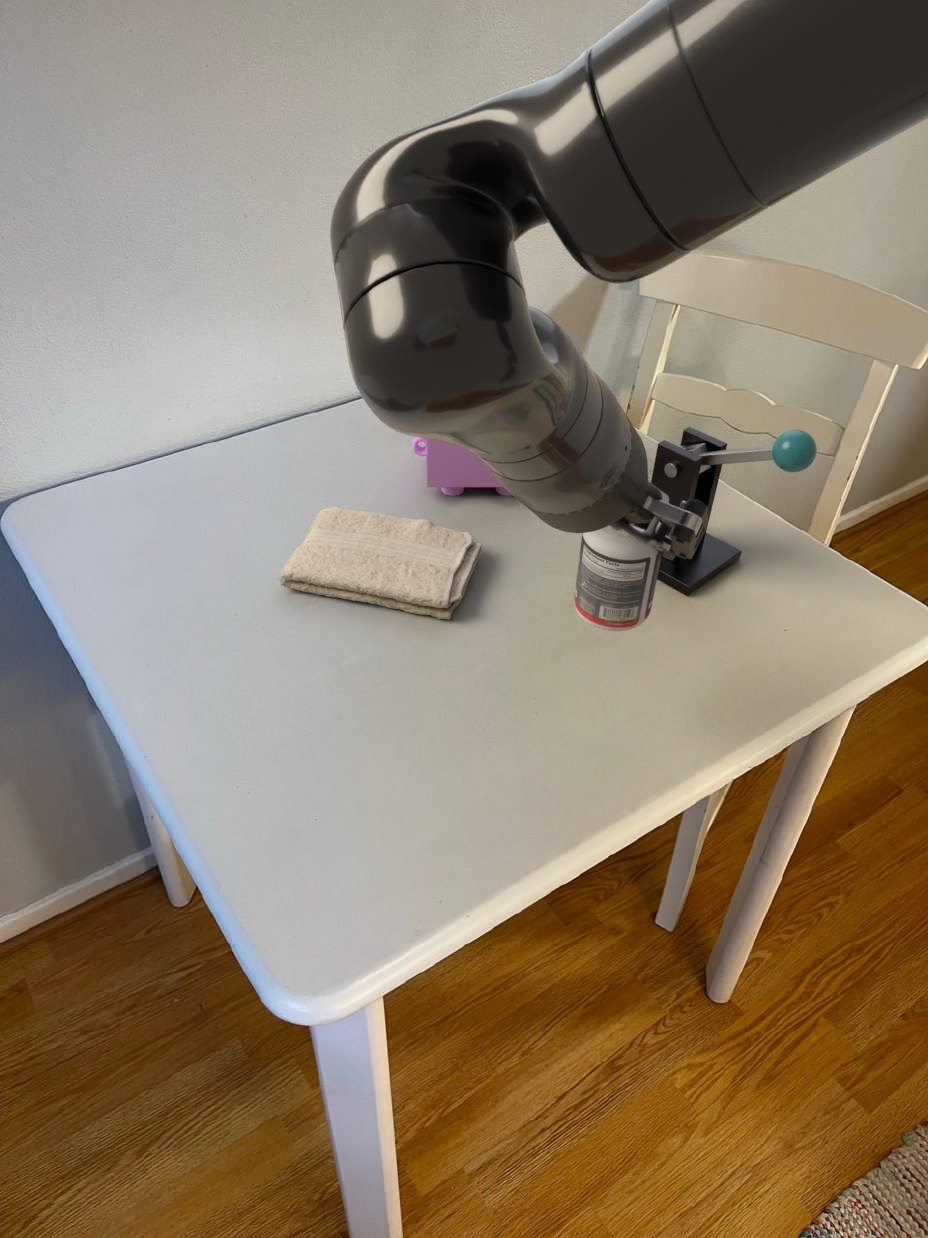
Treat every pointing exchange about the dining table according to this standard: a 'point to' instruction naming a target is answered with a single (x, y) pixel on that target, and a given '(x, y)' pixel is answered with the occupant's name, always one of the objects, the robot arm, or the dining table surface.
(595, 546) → the pill bottle
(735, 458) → the lever with teal knob
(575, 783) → the dining table surface
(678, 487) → the bracket
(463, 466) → the teapot
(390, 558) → the washcloth
